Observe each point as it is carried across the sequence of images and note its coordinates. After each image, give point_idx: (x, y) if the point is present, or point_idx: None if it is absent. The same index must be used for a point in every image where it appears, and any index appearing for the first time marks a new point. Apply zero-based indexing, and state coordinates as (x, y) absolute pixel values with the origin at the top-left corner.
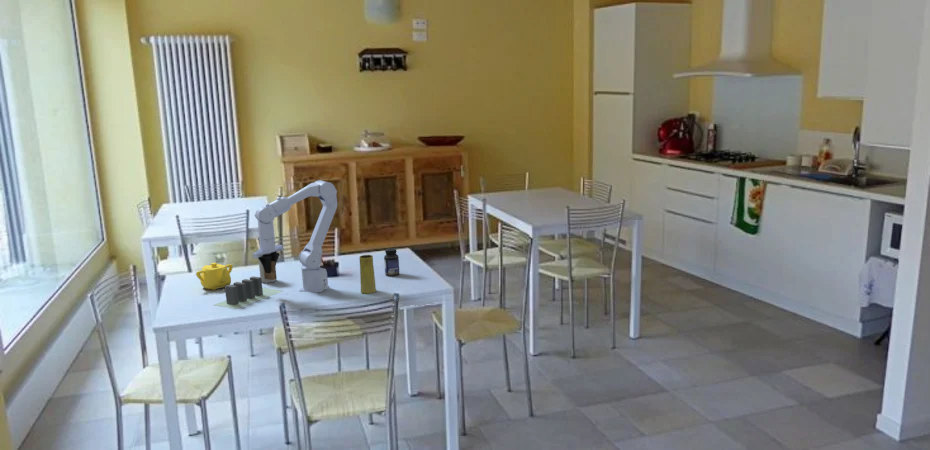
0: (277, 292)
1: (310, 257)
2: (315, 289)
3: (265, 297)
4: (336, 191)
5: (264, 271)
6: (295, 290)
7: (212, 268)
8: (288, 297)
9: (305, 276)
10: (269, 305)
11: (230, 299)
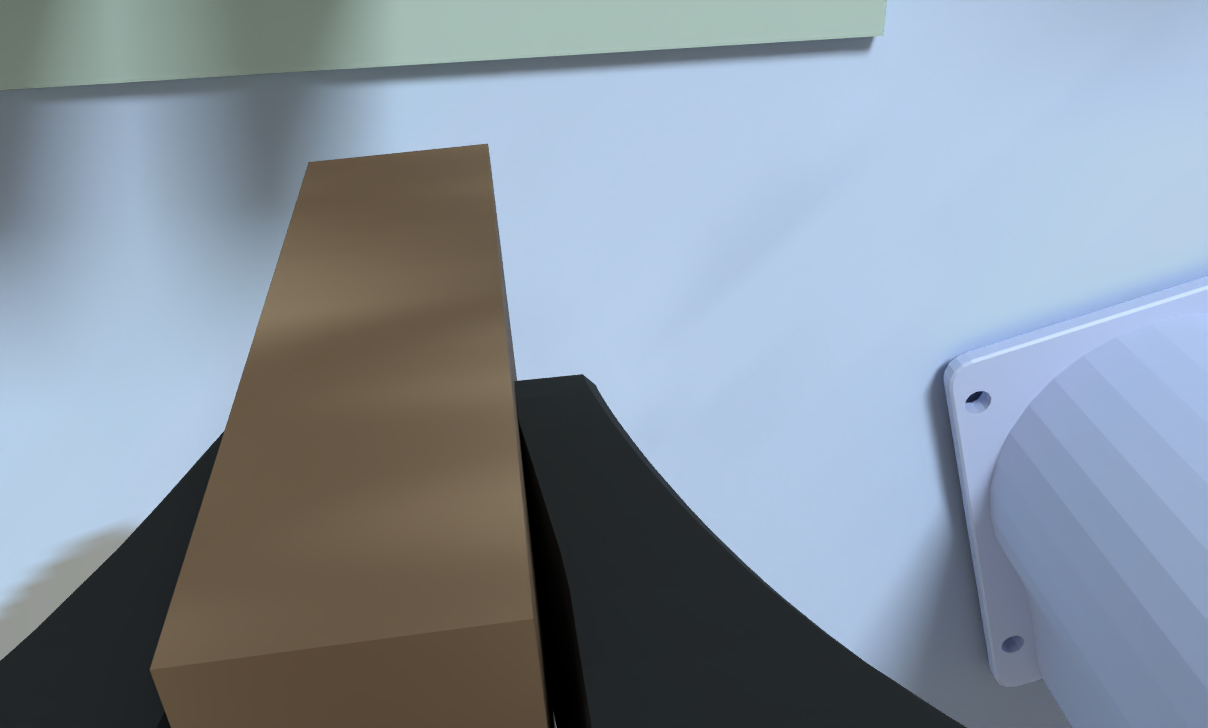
0: (713, 14)
1: None
2: (1037, 613)
3: (271, 69)
4: None
5: (272, 328)
6: (1014, 216)
7: None
8: None
9: (1133, 699)
10: (15, 509)
11: None
